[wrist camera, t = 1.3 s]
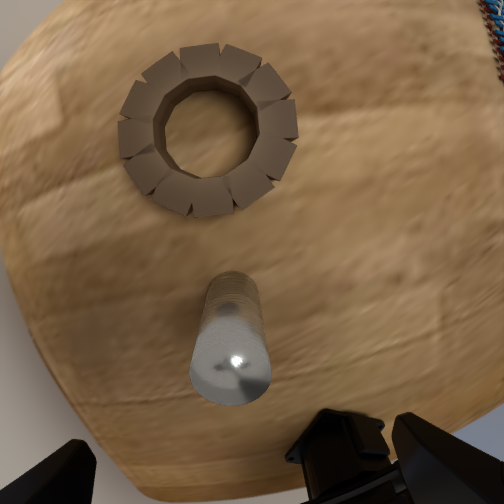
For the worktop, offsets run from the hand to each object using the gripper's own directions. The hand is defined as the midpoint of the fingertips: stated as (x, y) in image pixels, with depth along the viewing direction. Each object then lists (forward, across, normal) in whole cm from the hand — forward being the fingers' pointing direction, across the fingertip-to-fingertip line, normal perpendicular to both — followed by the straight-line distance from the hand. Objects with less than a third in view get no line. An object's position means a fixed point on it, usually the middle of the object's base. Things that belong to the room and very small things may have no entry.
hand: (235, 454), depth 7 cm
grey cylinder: (+12, 0, 0) cm, 12 cm away
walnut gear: (+12, 0, -9) cm, 15 cm away
